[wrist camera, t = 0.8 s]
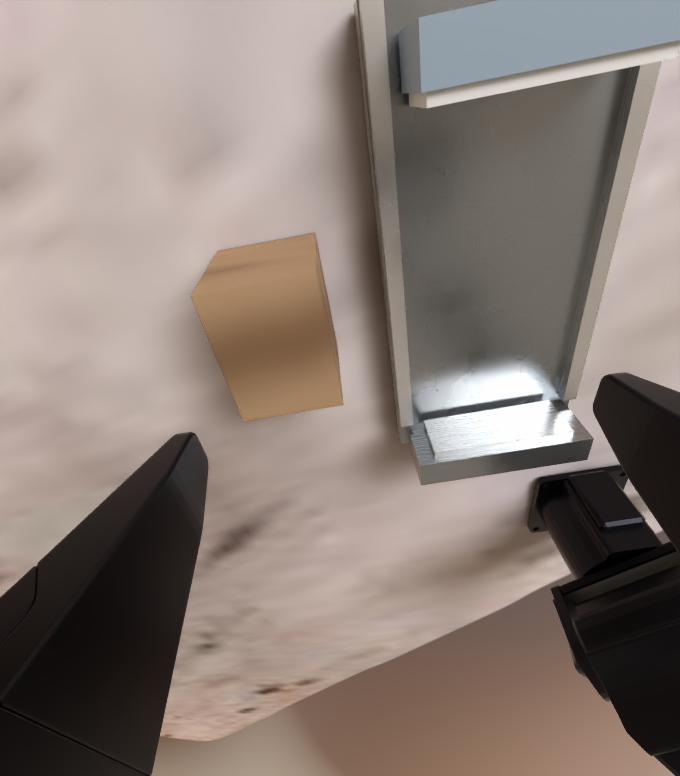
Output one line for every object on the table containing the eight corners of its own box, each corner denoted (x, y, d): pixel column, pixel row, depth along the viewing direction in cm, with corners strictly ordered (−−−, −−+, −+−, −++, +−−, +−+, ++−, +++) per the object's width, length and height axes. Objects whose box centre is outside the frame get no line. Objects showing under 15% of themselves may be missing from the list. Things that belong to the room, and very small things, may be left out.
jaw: (622, 62, 13) (690, 55, 11) (402, 107, 14) (421, 109, 11) (639, -20, 12) (720, -48, 10) (398, 32, 13) (418, 17, 10)
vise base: (556, 407, 25) (596, 458, 21) (398, 433, 25) (411, 486, 22) (659, -62, 13) (789, -121, 9) (353, 5, 13) (369, -27, 10)
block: (337, 346, 21) (343, 404, 17) (256, 360, 21) (243, 421, 17) (315, 232, 18) (315, 272, 14) (217, 250, 18) (190, 296, 14)
